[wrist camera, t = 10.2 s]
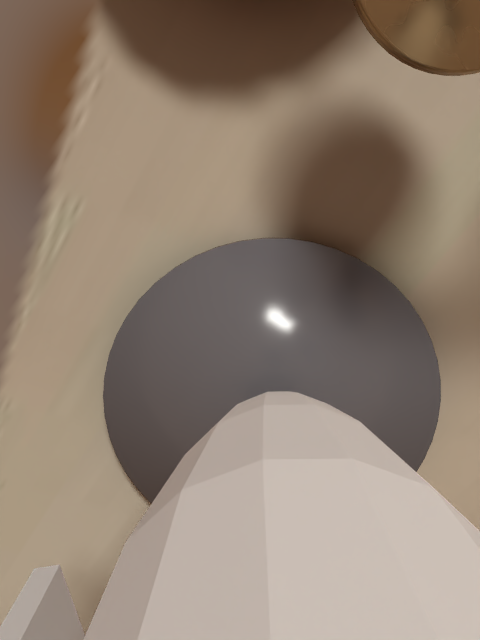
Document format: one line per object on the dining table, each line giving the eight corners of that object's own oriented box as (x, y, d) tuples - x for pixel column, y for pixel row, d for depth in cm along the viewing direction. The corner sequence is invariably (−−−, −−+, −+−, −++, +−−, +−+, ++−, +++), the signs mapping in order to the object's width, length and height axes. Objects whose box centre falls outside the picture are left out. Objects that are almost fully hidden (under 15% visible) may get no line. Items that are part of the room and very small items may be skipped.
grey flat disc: (71, 271, 21) (61, 275, 20) (416, 206, 20) (427, 206, 19) (152, 551, 26) (148, 568, 24) (441, 508, 25) (451, 523, 23)
